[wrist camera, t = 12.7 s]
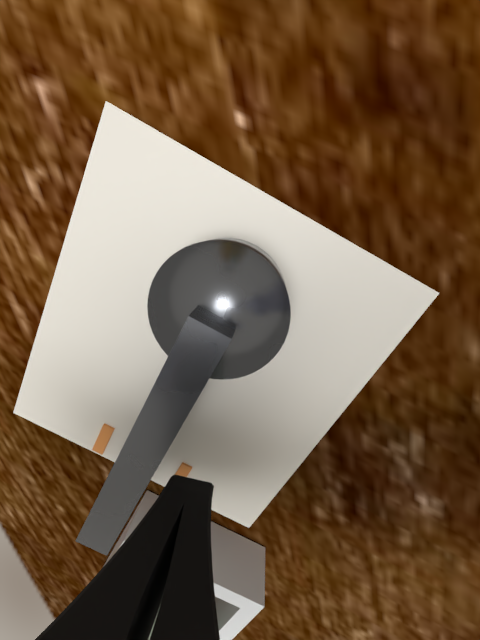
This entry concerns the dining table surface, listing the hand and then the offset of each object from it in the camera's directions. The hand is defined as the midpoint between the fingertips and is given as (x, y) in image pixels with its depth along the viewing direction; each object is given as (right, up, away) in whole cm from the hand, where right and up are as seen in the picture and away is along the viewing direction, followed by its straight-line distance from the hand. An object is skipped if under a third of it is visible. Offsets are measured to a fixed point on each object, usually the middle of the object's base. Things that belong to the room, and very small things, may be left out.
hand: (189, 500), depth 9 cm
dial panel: (0, +5, +3) cm, 5 cm away
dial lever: (-1, +4, +2) cm, 4 cm away
